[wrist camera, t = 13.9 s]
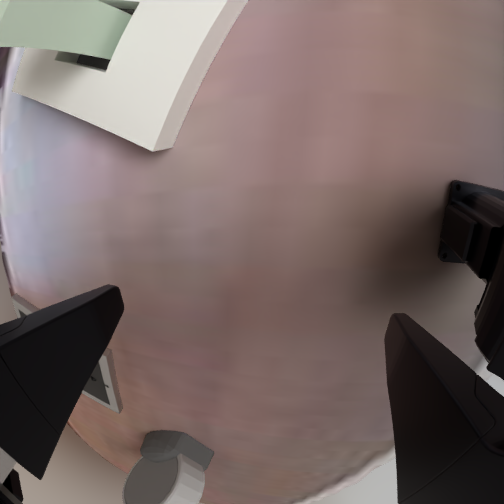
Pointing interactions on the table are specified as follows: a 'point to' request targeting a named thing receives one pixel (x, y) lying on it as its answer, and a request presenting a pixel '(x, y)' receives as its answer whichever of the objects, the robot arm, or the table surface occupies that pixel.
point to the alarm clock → (168, 470)
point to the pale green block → (62, 26)
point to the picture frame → (103, 376)
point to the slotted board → (136, 70)
